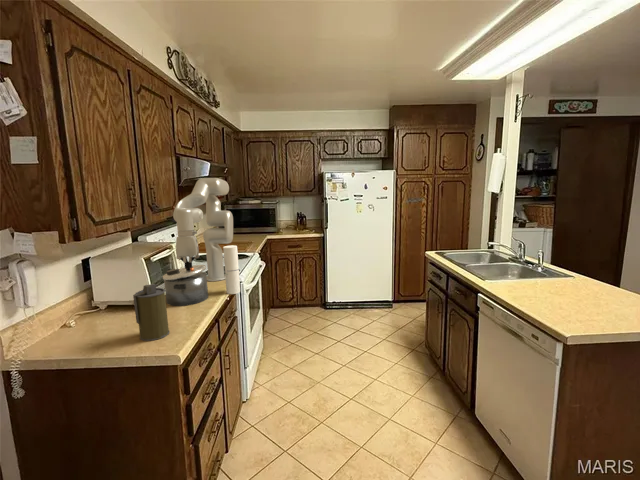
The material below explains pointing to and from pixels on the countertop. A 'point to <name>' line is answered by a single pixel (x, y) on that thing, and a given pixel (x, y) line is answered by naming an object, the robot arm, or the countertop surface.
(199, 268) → the cooker lid
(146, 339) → the canister
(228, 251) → the cylindrical container
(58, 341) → the countertop surface
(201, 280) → the cooker pot
